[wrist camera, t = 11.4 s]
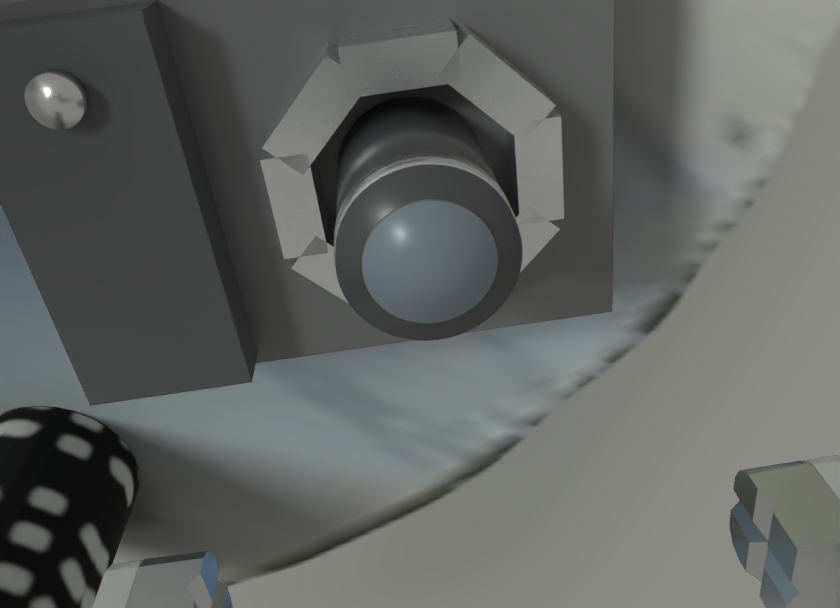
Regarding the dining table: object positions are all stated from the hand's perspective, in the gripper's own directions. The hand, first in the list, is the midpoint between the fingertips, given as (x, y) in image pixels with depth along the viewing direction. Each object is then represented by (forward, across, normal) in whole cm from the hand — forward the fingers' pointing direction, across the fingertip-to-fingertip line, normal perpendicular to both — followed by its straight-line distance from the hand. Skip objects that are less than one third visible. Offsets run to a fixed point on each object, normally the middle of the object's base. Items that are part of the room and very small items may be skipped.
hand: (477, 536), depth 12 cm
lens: (+17, 0, 0) cm, 17 cm away
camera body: (+22, +3, 0) cm, 22 cm away
